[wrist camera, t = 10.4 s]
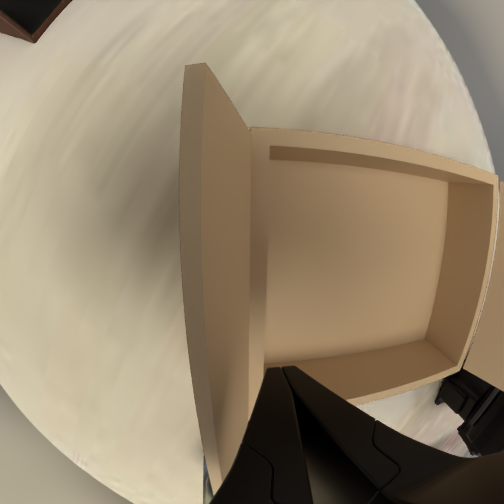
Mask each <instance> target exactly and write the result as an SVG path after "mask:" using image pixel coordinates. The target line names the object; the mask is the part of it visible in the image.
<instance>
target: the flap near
mask: <svg viewBox="0 0 504 504" xmlns="http://www.w3.org/2000/svg"><path fill="white" fill-rule="evenodd" d="M251 145H252V135H251V133H250V131H249V130H248V128H247V126H246V125H245V123H244V121H243V120H242V118H241V117H240V115H239V113H238V112H237V110H236V108H235V107H234V105H233V104H232V102H231V100H230V99H229V97H228V96H227V94H226V93H225V91H224V89H223V88H222V86H221V85H220V83H219V82H218V80H217V79H216V77H215V76H214V74H213V73H212V71H211V70H210V68H209V67H208V65H207V64H206V63H200V64H192V65H186V66H185V72H184V84H183V97H182V112H181V131H180V162H179V218H180V251H181V271H182V287H183V301H184V313H185V324H186V334H187V344H188V353H189V361H190V369H191V377H192V384H193V391H194V398H195V404H196V411H197V417H198V423H199V428H200V434H201V439H202V445H203V450H204V455H205V459H206V464H207V469H208V473H209V478H210V482H211V486H212V491H213V495H215V493H216V492H217V490H218V489H219V487H220V486H221V484H222V482H223V481H224V479H225V477H226V475H227V474H228V472H229V470H230V468H231V466H232V464H233V461H234V459H235V457H236V454H237V452H238V449H239V447H240V444H241V443H242V439H243V436H244V433H245V431H246V428H247V424H248V410H249V308H250V222H251Z"/></svg>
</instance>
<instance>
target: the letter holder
mask: <svg viewBox="0 0 504 504" xmlns="http://www.w3.org/2000/svg"><path fill="white" fill-rule="evenodd" d="M71 1H72V0H0V32H1V33H4V34H8V35H11V36H14V37H17V38H21V39H24V40H27V41H29V42H33V43H35V42H36V41H37V40H38V39H39V37H40V36H41V35H42V33H43V32H44V31H45V30H46V28H47V27H48V26H49V25H50V24H51V22H52V21H53V20H54V19H55V18H56V17H57V16H58V15H59V13H60V12H61V11H62V10H63V9H64V8H65V7H66V6H67V5H68V4H69V3H70V2H71Z"/></svg>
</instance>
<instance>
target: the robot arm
mask: <svg viewBox="0 0 504 504" xmlns="http://www.w3.org/2000/svg"><path fill="white" fill-rule="evenodd" d="M465 361H466V359H465V360H464V362H463V364H462V367H461V369H460V371H458V372H456V373H454V374H451V375H449V376H447V377H446V380H445V382H444V384H443V386H442V389H441V391H440V393H439V395H438V397H437V399H436V401H435V404H436V405H439V404H441V403H443V402H445V403H446V404H447V405H448V406H449V407H450V408H451V409H452V410H453V411H454V412H455V413H456V414H459V415H460V417H461V418H462V419H463V420H464V422H463V424H462V425H461V426H459V427H458V428H457V430H458V431H459V432H458V434H459V435H460V436H461V438H462V439H463V441H464V442H465V444H466V445H467V448H468V450H469V452H470V454H471V455H477V456H478V457H476V458H465V457H459V456H455V455H452V454H449V453H446V452H444V451H441V450H438V449H436V448H433V447H431V446H428V445H426V444H423V443H421V442H418V441H416V440H414V439H412V438H409V437H407V436H405V435H403V434H401V433H399V432H397V431H395V430H394V429H392V428H390V427H388V426H386V425H385V424H383V423H381V422H380V421H378V420H376V421H375V418H373V417H371V416H370V415H368V414H367V413H365V412H363V411H362V410H360V409H359V408H357V407H356V406H354V405H352V404H351V403H349V402H348V401H346V400H345V399H343V398H342V397H340V396H339V395H337V394H336V393H334V392H333V391H331V390H330V389H328V388H327V387H325V386H324V385H322V384H321V383H319V382H318V381H317V380H315V379H314V378H312V377H311V376H309V375H308V374H306V373H305V372H304V371H302V370H301V369H299V368H298V367H297V366H295V365H291V366H282V367H268V368H267V369H266V371H265V374H264V378H263V381H262V384H261V387H260V390H259V393H258V396H257V399H256V402H255V405H254V408H253V411H252V414H251V416H250V419H249V422H248V425H247V428H246V431H245V433H244V436H243V439H242V443H241V444H240V447H239V449H238V452H237V454H236V457H235V459H234V461H233V464H232V466H231V468H230V470H229V472H228V474H227V475H226V477H225V479H224V481H223V482H222V484H221V486H220V487H219V489H218V490H217V492H216V493H215V495H214V496H213V498H212V499H211V501H210V502H209V504H504V391H502V390H500V389H498V388H497V387H495V386H493V385H491V384H490V383H488V382H486V381H484V380H483V379H481V378H479V377H477V376H476V375H474V374H472V373H470V372H469V371H467V370H465V369H463V366H464V364H465Z"/></svg>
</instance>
